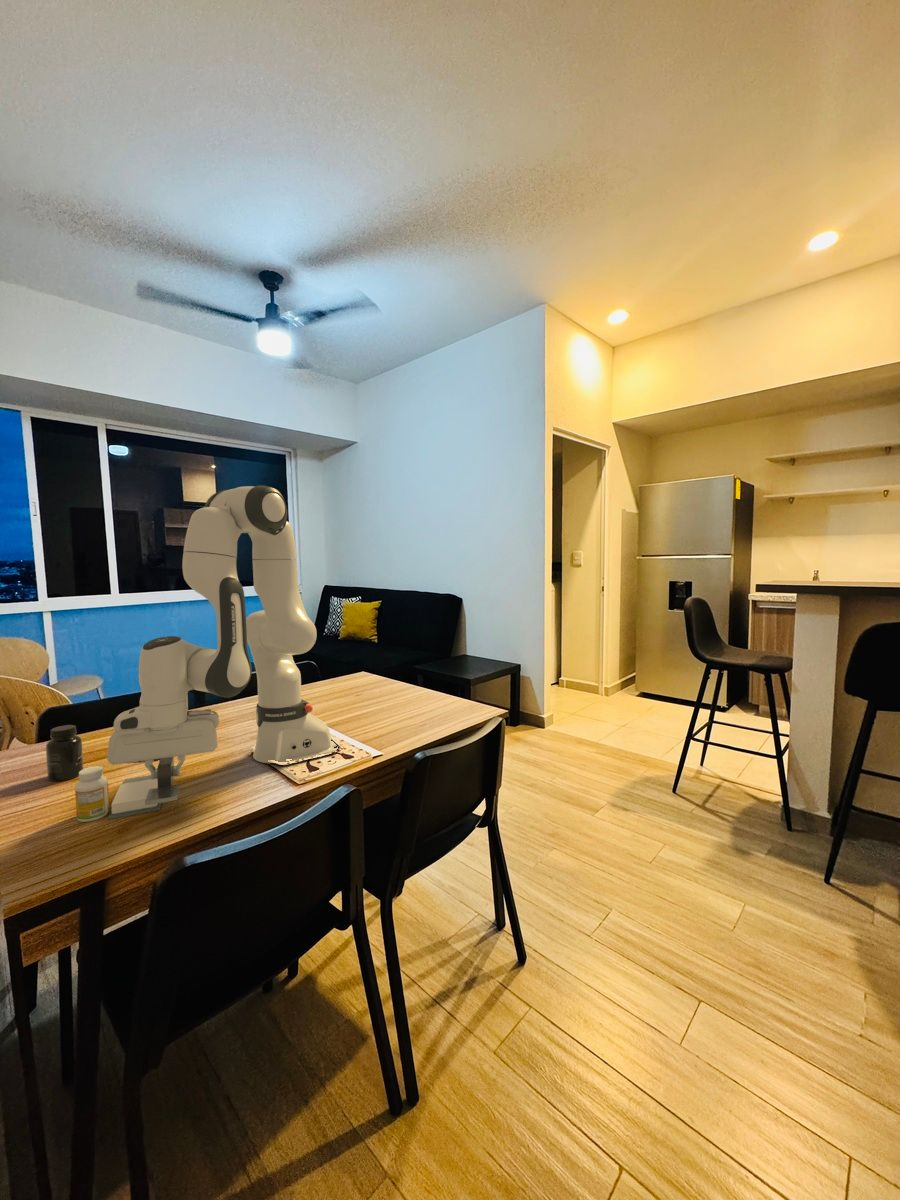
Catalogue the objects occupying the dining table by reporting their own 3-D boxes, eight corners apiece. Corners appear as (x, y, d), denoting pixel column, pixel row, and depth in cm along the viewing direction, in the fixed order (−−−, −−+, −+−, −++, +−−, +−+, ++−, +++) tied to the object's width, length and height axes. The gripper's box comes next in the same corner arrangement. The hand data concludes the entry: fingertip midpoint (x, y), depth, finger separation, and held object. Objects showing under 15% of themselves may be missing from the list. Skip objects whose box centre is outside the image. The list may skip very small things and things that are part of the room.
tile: (162, 777, 111) (156, 796, 102) (162, 787, 111) (157, 807, 102) (120, 784, 108) (111, 804, 99) (121, 793, 108) (112, 815, 99)
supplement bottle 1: (88, 774, 118) (85, 726, 117) (53, 785, 113) (50, 735, 112) (77, 767, 122) (74, 721, 121) (43, 777, 117) (40, 729, 116)
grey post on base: (153, 779, 106) (153, 757, 106) (182, 775, 108) (181, 753, 108) (145, 805, 95) (144, 780, 94) (177, 799, 97) (176, 775, 97)
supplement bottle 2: (88, 809, 102) (85, 764, 101) (115, 808, 102) (112, 764, 102) (70, 823, 97) (67, 776, 96) (98, 822, 97) (95, 775, 96)
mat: (168, 773, 119) (168, 772, 119) (159, 810, 102) (159, 808, 102) (125, 780, 115) (125, 779, 115) (108, 819, 98) (108, 817, 98)
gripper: (218, 704, 110) (219, 763, 111) (110, 714, 101) (113, 778, 102) (218, 712, 104) (219, 774, 105) (104, 723, 96) (106, 791, 97)
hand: (166, 776), depth 104 cm, fingers closed on grey post on base, 2 cm apart
